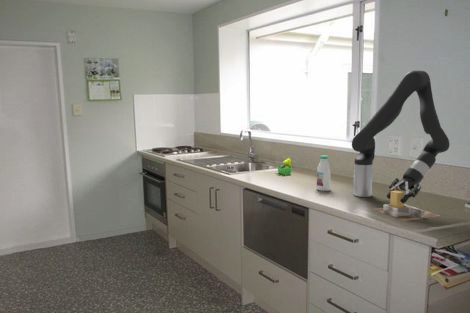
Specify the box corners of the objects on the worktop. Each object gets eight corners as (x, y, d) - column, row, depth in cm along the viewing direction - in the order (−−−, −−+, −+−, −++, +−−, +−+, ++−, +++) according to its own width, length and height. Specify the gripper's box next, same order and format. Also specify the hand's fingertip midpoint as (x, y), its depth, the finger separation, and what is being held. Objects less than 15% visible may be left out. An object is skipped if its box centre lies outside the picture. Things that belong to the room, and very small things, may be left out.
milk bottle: (328, 188, 232) (328, 154, 229) (331, 191, 224) (332, 156, 221) (315, 188, 232) (315, 154, 229) (318, 191, 224) (318, 156, 221)
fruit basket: (276, 173, 282) (276, 157, 281) (287, 172, 285) (287, 156, 283) (282, 175, 271) (282, 159, 270) (294, 174, 274) (294, 158, 272)
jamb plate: (372, 211, 183) (372, 201, 182) (406, 206, 190) (407, 197, 189) (404, 223, 164) (404, 213, 164) (440, 217, 171) (441, 207, 170)
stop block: (389, 212, 177) (390, 191, 175) (397, 211, 178) (397, 190, 176) (396, 215, 173) (397, 193, 171) (403, 214, 174) (404, 192, 173)
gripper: (400, 164, 181) (379, 191, 179) (424, 169, 168) (401, 198, 166) (408, 175, 184) (388, 201, 182) (433, 180, 171) (411, 209, 169)
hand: (394, 199), depth 174 cm, fingers open, 8 cm apart
